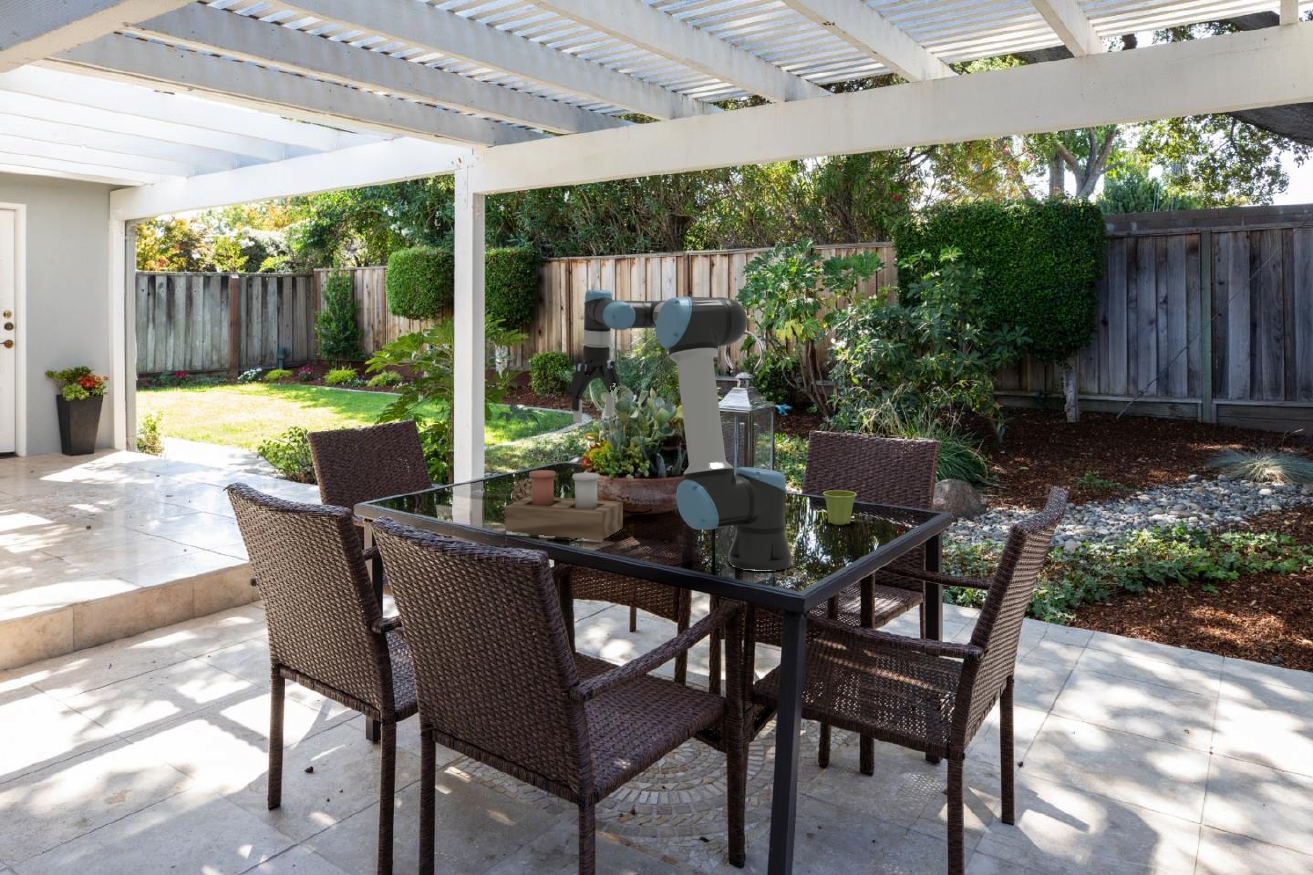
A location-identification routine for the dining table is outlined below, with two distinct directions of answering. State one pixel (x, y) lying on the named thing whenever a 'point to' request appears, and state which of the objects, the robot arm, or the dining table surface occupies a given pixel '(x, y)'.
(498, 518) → the dining table surface
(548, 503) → the red plug
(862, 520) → the dining table surface
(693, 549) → the dining table surface
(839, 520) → the plant pot
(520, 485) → the pine cone
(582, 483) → the grey plug
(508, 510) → the brown wooden plug box
